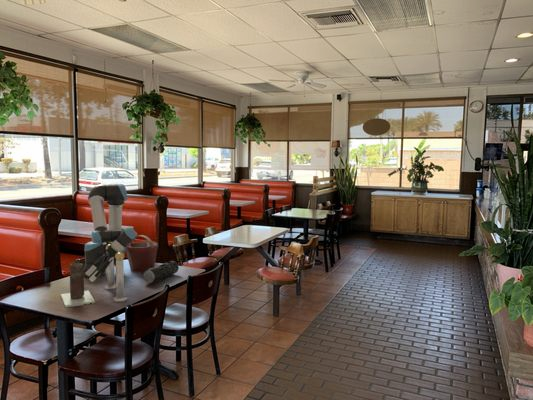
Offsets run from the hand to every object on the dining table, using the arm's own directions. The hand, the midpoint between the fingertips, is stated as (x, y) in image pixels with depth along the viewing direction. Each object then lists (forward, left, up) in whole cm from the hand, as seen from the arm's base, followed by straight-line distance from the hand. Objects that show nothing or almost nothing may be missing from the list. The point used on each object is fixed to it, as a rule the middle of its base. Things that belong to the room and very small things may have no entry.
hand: (88, 277), depth 244 cm
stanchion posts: (+13, +8, -12) cm, 19 cm away
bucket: (+14, +65, -12) cm, 67 cm away
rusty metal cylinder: (-6, -3, -11) cm, 13 cm away
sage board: (-6, -3, -12) cm, 13 cm away
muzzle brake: (+33, +38, -12) cm, 52 cm away
